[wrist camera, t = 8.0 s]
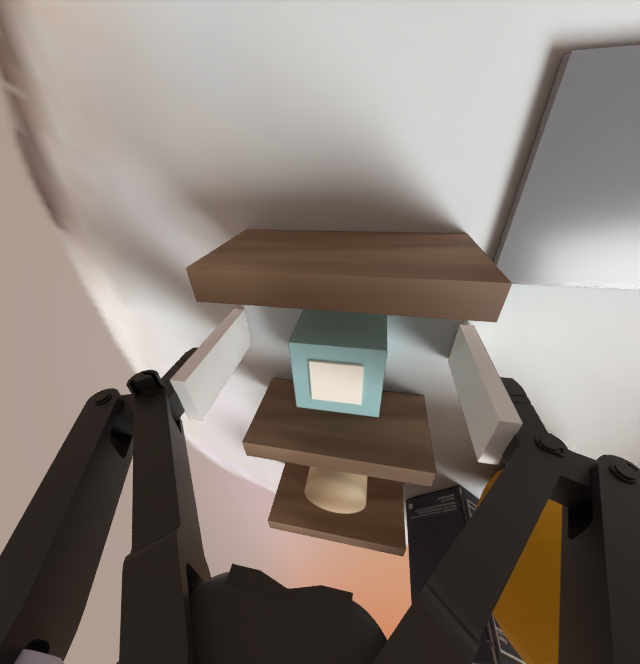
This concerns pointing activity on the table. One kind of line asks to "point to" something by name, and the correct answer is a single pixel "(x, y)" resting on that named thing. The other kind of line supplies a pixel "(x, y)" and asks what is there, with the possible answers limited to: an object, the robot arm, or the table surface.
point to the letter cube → (339, 361)
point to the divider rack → (396, 408)
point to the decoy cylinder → (336, 490)
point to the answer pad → (581, 180)
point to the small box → (432, 545)
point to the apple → (534, 590)
